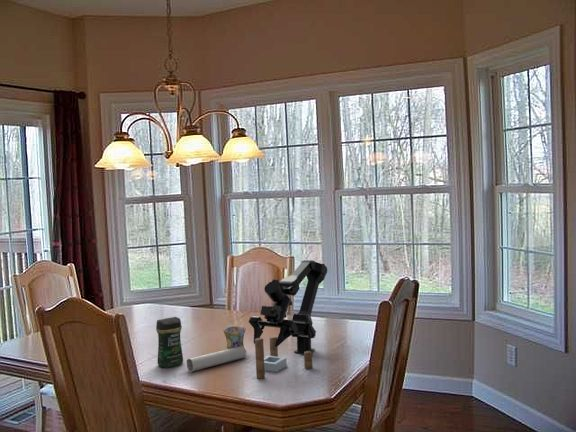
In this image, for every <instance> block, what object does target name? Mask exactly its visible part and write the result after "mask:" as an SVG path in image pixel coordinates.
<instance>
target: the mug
mask: <svg viewBox="0 0 576 432" xmlns="http://www.w3.org/2000/svg"><path fill="white" fill-rule="evenodd" d="M246 330H247V328H246V327H244V326H241V325H240V326H237V325H236V326H228V327H226V328H224V329H223V330H222V332H223V334H224V336H225V339H226V349H225V350H227V349H231V348H235V347H239V346H241V347H244V348H245V346H244V345H245V344H244V339H245V337H244V336H245V334H246Z"/></svg>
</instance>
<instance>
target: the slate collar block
mask: <svg viewBox="0 0 576 432" xmlns="http://www.w3.org/2000/svg"><path fill="white" fill-rule="evenodd" d="M287 364H288V363H287V357H285V356H278V357H277V356H270V354H268V355H267V356H264V368H265V371H266V372H271V373H272V372H273V373H277V372H278V371H280V370H282V369H284V368H285V367H286V366H287Z"/></svg>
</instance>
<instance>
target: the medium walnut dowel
mask: <svg viewBox="0 0 576 432" xmlns="http://www.w3.org/2000/svg"><path fill="white" fill-rule="evenodd" d="M277 338H278V336H275V335H274V336H270V337H269V355H270V356H277V357H279V352H278V351H279V349H278V347H279V346H278V347H276V346H275V343H276V340H277Z"/></svg>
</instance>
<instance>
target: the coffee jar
mask: <svg viewBox="0 0 576 432" xmlns="http://www.w3.org/2000/svg"><path fill="white" fill-rule="evenodd" d="M155 328H156V333H157V337H158V345H157V346H158V348H157V365H158V366H159V367H160V368H165V369H166V368H172V367H176V366H180V365H182V364H183V363H184V356H183V355H184V354H183V350H182V348H183V347H182V342H181V340H182V339H181V332H182V329H183V328H182V321H181V319H180V317H177V316H172V317H167V318H162V319H157V320H156V327H155Z"/></svg>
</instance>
